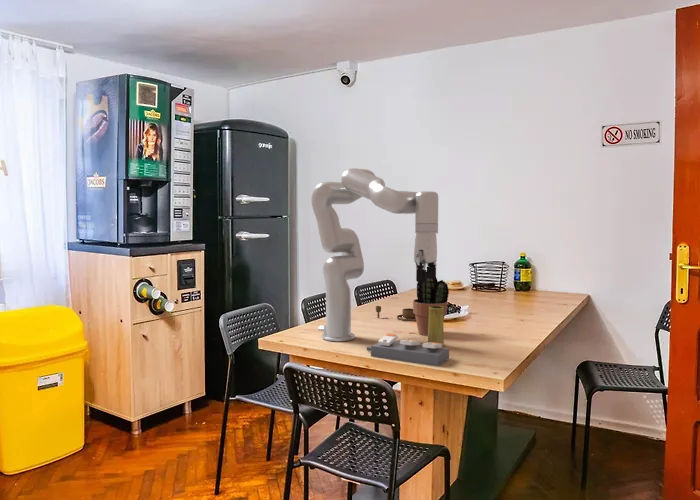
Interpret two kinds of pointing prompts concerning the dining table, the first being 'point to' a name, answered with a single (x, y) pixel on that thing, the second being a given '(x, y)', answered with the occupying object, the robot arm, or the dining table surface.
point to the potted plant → (429, 301)
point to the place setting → (406, 314)
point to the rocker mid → (409, 342)
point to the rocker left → (387, 339)
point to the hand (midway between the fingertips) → (426, 280)
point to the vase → (436, 325)
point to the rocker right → (432, 345)
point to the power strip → (410, 353)
